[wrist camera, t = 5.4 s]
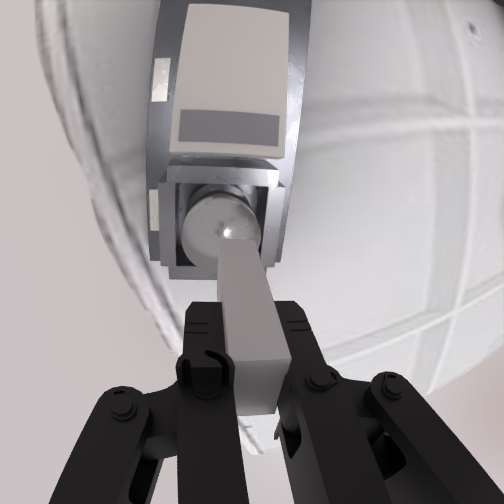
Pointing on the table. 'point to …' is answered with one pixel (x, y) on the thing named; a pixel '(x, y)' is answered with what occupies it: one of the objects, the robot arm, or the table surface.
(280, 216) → the panel
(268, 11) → the plate
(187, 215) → the button
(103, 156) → the table surface
